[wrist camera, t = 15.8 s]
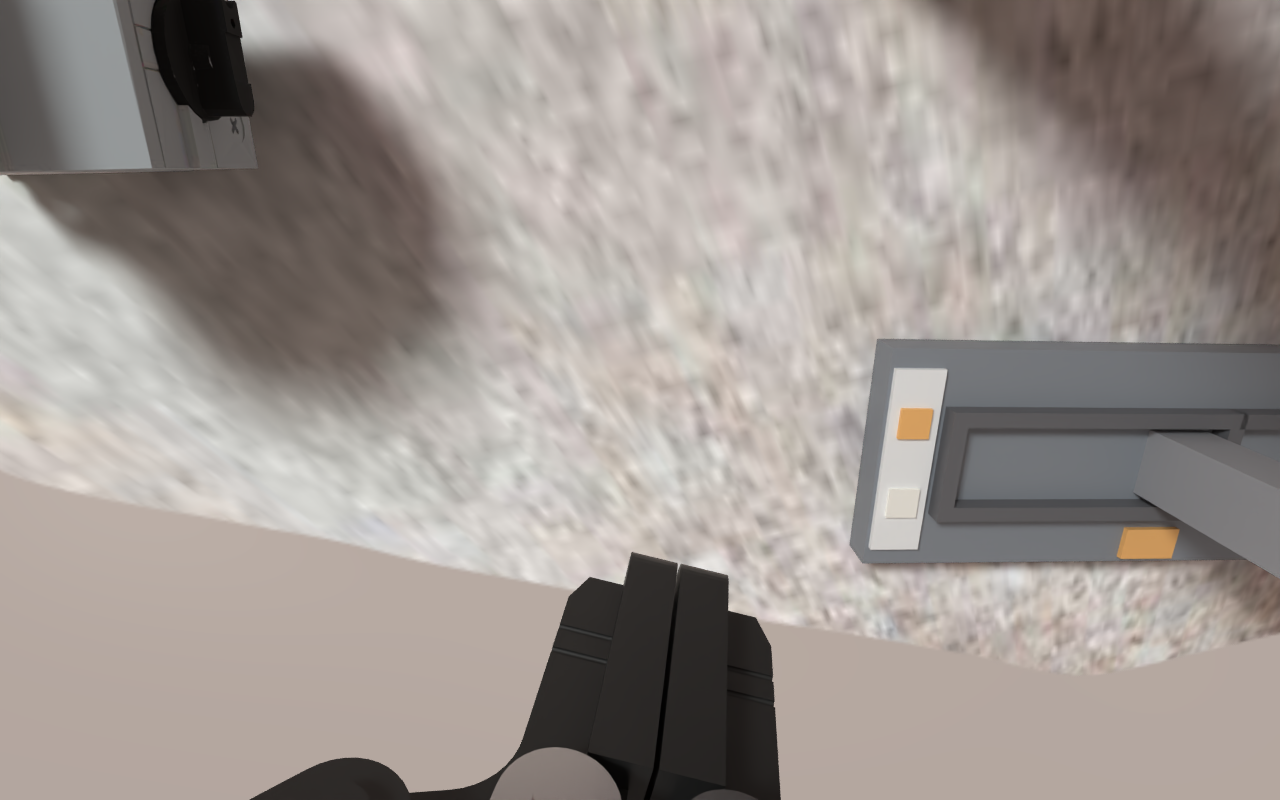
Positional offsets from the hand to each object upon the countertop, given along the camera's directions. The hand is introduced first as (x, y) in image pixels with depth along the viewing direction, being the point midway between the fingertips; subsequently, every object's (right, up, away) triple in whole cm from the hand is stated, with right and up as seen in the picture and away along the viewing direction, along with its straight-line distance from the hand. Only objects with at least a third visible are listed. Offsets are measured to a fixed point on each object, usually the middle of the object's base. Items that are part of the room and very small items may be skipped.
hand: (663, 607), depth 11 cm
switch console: (+28, 0, +29) cm, 40 cm away
